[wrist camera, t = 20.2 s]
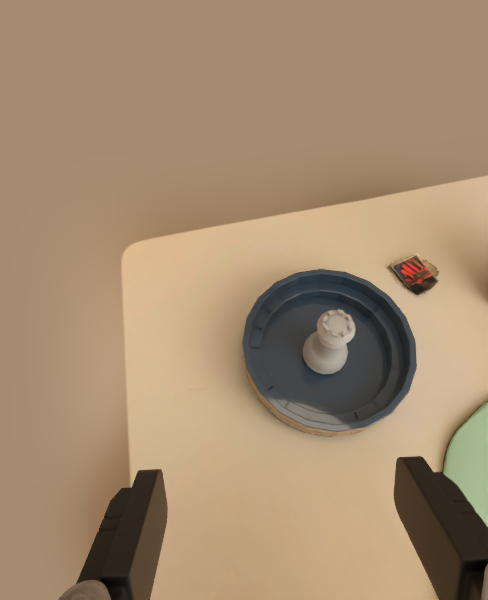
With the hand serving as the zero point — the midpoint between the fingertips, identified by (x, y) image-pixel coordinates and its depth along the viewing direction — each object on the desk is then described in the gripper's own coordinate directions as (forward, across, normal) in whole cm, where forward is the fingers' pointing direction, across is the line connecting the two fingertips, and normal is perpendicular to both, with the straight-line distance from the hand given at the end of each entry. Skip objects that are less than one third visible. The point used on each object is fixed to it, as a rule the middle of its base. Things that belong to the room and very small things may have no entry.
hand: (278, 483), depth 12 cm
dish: (+25, -7, +8) cm, 27 cm away
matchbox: (+31, -19, +1) cm, 37 cm away
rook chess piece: (+24, -7, +8) cm, 26 cm away
